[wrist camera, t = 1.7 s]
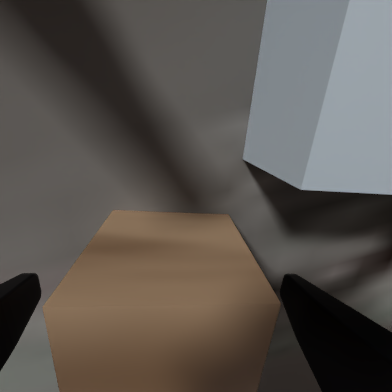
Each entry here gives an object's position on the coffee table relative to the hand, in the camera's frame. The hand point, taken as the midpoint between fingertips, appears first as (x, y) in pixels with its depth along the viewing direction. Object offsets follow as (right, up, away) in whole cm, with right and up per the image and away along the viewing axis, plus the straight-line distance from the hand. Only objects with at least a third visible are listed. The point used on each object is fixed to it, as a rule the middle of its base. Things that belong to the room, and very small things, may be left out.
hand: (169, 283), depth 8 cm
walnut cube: (0, 0, +1) cm, 1 cm away
